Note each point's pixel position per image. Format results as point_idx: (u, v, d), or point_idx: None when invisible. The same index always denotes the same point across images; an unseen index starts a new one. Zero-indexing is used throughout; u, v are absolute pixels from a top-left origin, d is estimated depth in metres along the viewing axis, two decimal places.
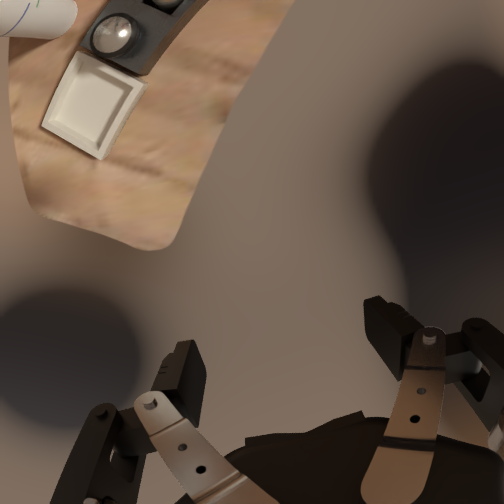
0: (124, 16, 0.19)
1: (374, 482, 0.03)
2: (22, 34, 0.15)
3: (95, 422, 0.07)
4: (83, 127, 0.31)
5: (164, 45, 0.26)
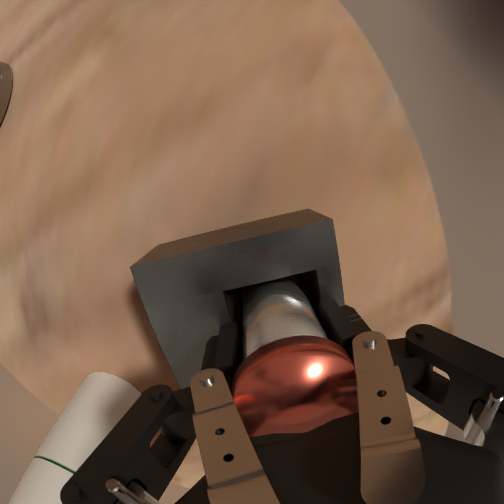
0: None
1: (373, 488, 0.03)
2: None
3: (146, 403, 0.08)
4: None
5: None
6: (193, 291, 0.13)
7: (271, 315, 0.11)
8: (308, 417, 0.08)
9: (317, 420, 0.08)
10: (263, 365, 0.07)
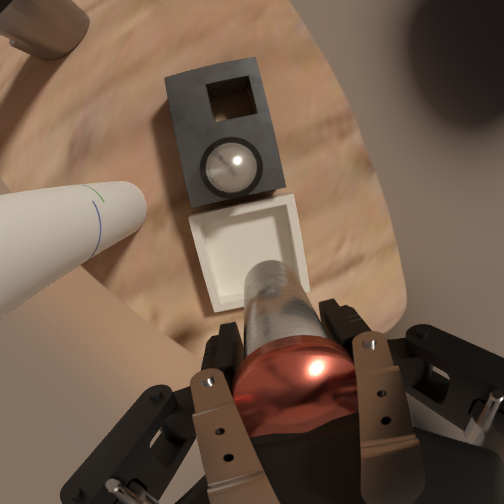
0: (224, 142, 0.24)
1: (373, 488, 0.03)
2: (111, 242, 0.25)
3: (146, 403, 0.08)
4: None
5: None
6: (192, 85, 0.25)
7: (272, 315, 0.11)
8: (308, 417, 0.08)
9: (317, 420, 0.08)
10: (263, 365, 0.07)
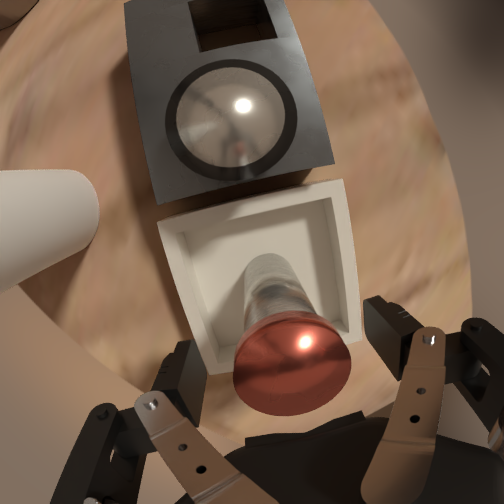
0: (215, 68, 0.10)
1: (374, 482, 0.03)
2: (20, 272, 0.11)
3: (95, 422, 0.07)
4: None
5: None
6: (166, 5, 0.11)
7: (269, 297, 0.12)
8: (301, 385, 0.09)
9: (309, 388, 0.09)
10: (261, 334, 0.09)
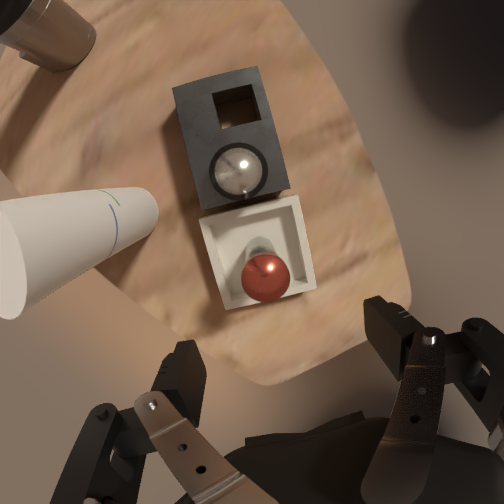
0: (231, 147, 0.26)
1: (374, 482, 0.03)
2: (126, 243, 0.27)
3: (95, 422, 0.07)
4: None
5: None
6: (199, 94, 0.27)
7: (256, 251, 0.28)
8: (269, 284, 0.25)
9: (273, 286, 0.25)
10: (252, 259, 0.25)
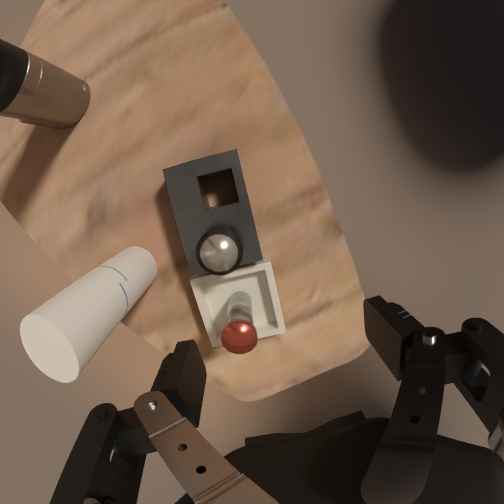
0: (212, 233, 0.33)
1: (374, 482, 0.03)
2: (133, 304, 0.34)
3: (95, 422, 0.07)
4: None
5: None
6: (186, 177, 0.34)
7: (234, 313, 0.35)
8: (242, 342, 0.32)
9: (244, 343, 0.33)
10: (228, 325, 0.32)
